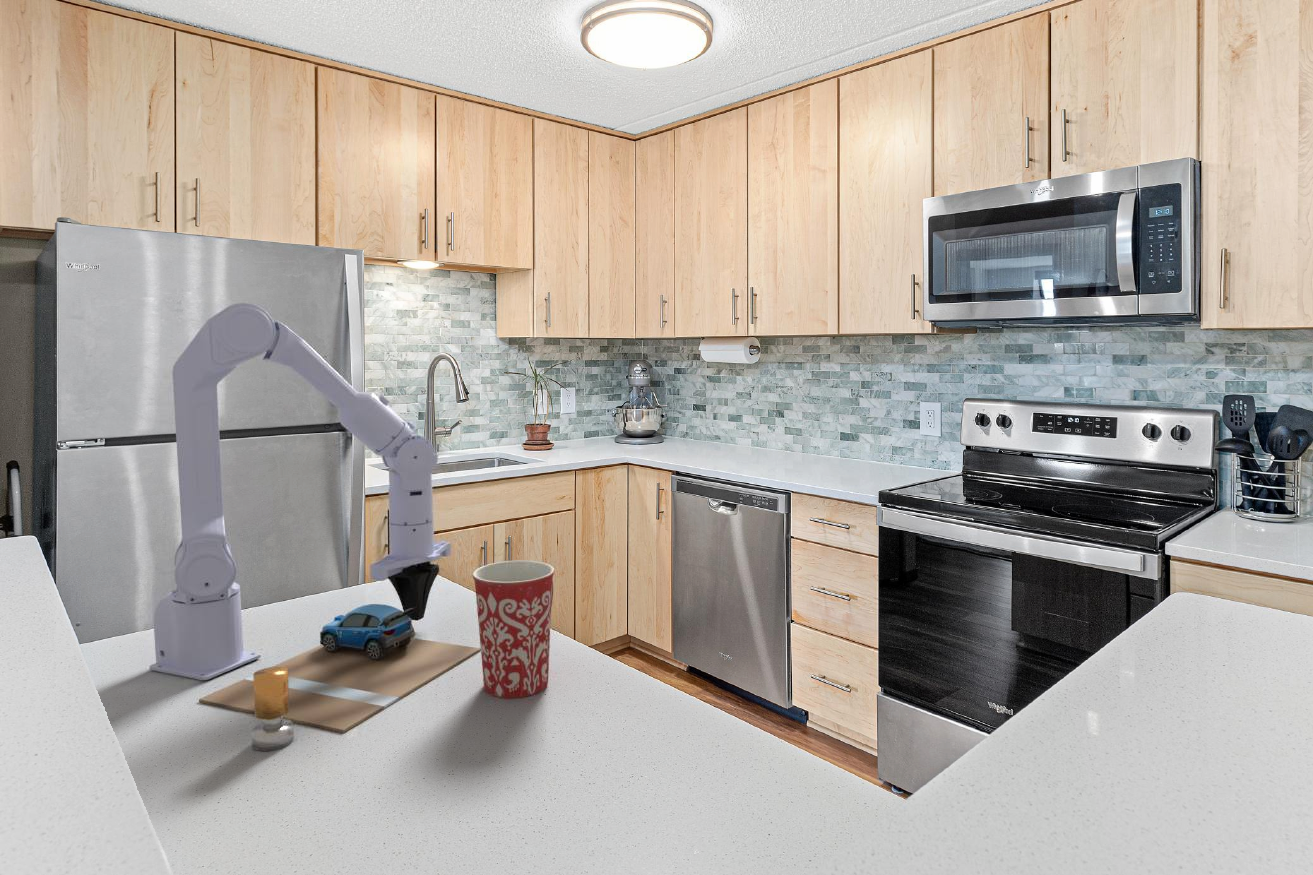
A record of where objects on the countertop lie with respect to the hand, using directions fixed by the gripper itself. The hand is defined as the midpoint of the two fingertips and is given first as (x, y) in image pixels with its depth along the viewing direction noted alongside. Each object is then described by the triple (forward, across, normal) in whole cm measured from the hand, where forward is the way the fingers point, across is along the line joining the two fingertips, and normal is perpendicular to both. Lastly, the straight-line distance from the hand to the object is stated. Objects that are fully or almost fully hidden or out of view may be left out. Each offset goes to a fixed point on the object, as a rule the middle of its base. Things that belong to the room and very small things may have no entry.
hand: (414, 618), depth 109 cm
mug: (+2, -10, -23) cm, 25 cm away
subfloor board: (+2, -16, -3) cm, 16 cm away
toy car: (+2, -9, 0) cm, 9 cm away
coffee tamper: (+2, -32, -8) cm, 33 cm away
